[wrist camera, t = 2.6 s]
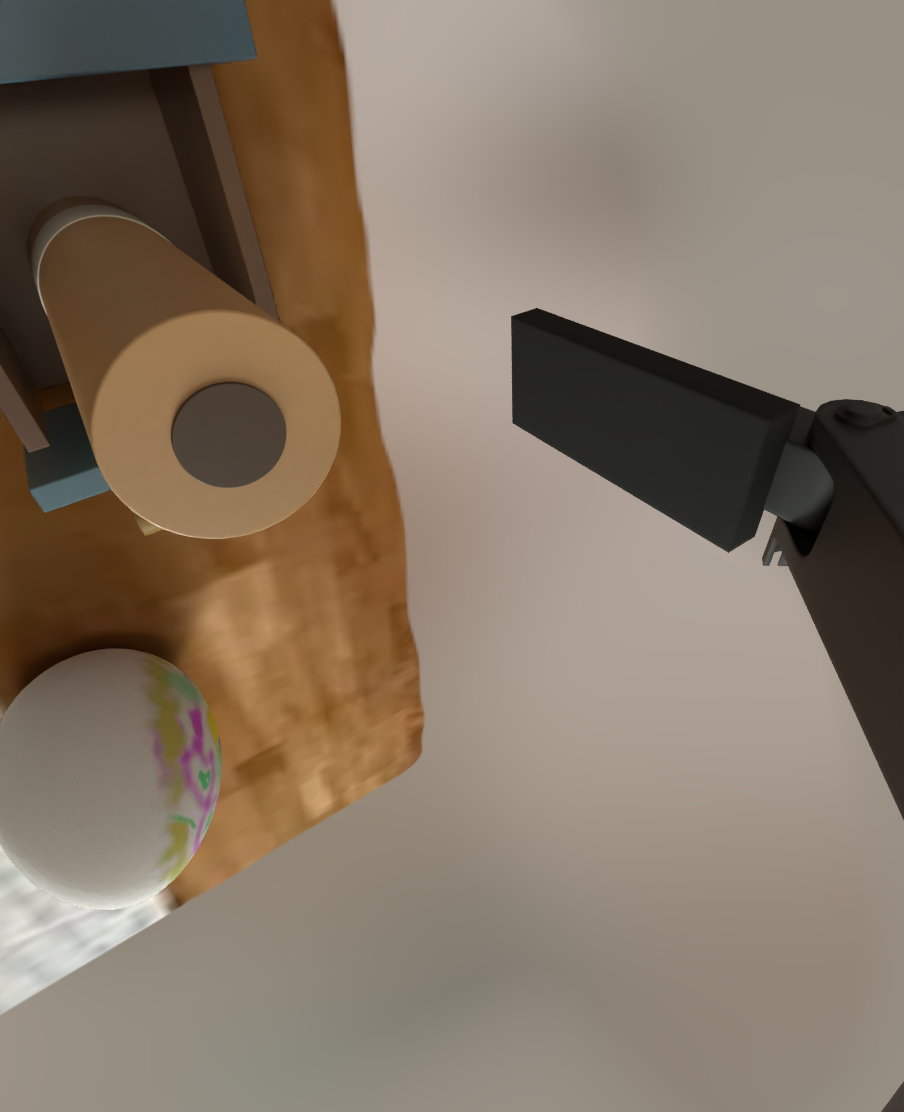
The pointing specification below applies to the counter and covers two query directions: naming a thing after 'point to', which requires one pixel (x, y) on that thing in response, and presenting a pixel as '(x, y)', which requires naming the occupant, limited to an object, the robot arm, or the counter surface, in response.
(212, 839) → the counter surface
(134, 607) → the counter surface
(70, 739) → the decorative egg
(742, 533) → the robot arm
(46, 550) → the counter surface
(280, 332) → the paper roll
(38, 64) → the cabinet
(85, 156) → the drawer
